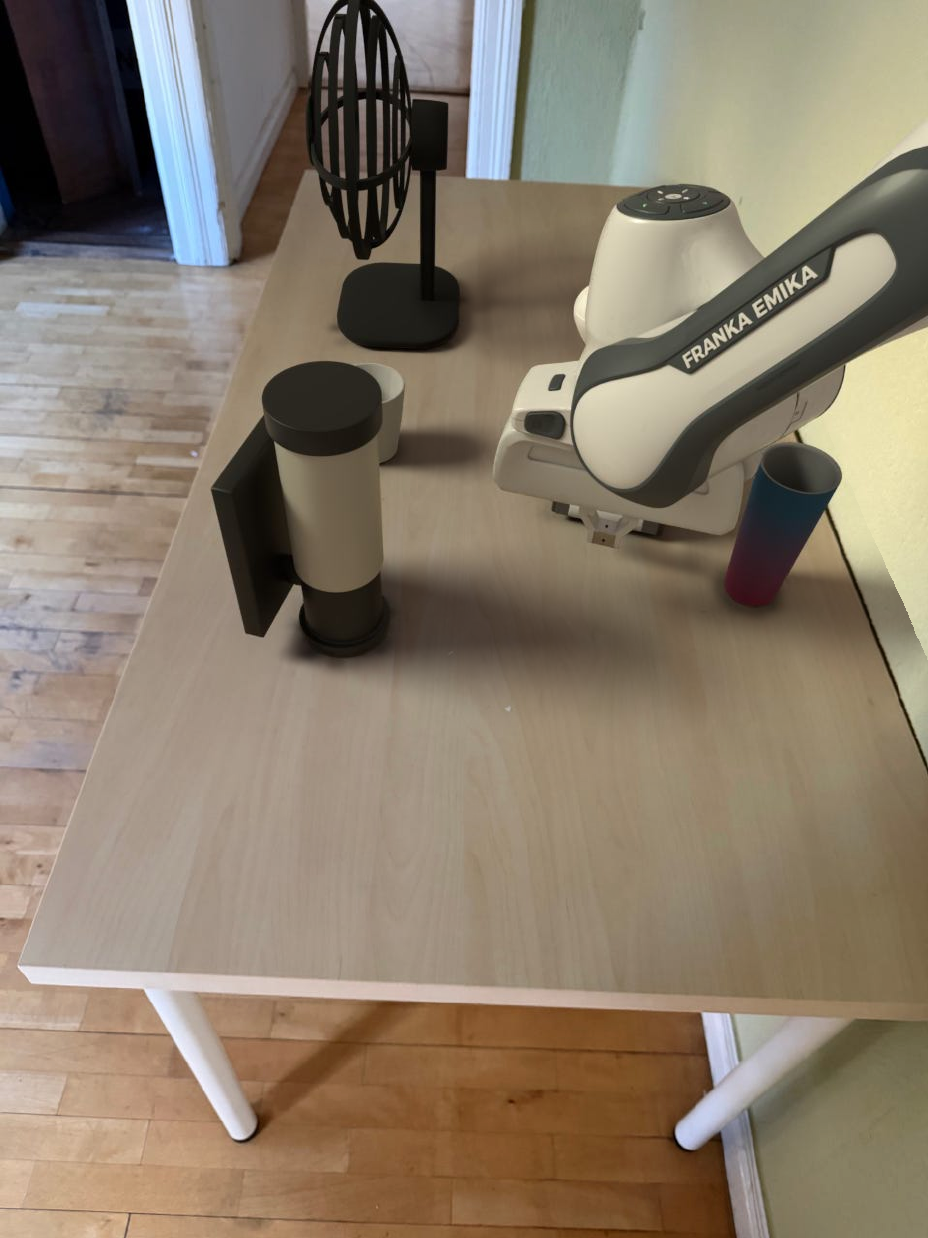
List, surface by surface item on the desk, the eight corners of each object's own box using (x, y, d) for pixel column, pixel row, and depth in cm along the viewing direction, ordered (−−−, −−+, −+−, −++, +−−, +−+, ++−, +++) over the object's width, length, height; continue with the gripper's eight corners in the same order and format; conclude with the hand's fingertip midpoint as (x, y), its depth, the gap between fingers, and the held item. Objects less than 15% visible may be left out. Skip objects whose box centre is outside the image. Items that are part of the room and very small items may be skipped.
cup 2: (794, 580, 86) (852, 460, 74) (771, 624, 82) (828, 504, 70) (729, 552, 88) (775, 431, 77) (703, 594, 84) (748, 473, 73)
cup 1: (407, 470, 94) (406, 404, 88) (313, 472, 94) (305, 405, 87) (405, 427, 99) (404, 361, 93) (316, 428, 98) (309, 362, 92)
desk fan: (337, 256, 124) (314, -46, 98) (460, 261, 125) (471, -39, 98) (313, 364, 107) (277, 31, 80) (457, 370, 107) (469, 40, 80)
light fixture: (366, 683, 76) (347, 458, 57) (248, 654, 77) (193, 425, 59) (409, 586, 83) (405, 359, 65) (301, 561, 85) (267, 332, 66)
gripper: (772, 411, 66) (726, 542, 77) (511, 363, 70) (501, 495, 80) (767, 461, 62) (720, 592, 73) (491, 408, 66) (483, 540, 76)
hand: (603, 541), depth 77 cm, fingers closed
